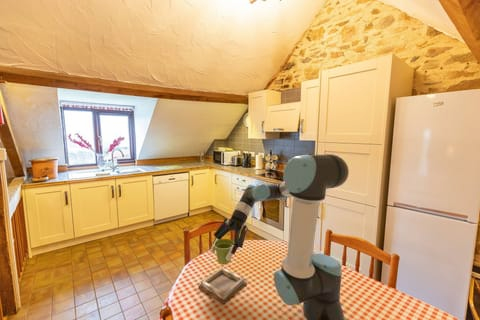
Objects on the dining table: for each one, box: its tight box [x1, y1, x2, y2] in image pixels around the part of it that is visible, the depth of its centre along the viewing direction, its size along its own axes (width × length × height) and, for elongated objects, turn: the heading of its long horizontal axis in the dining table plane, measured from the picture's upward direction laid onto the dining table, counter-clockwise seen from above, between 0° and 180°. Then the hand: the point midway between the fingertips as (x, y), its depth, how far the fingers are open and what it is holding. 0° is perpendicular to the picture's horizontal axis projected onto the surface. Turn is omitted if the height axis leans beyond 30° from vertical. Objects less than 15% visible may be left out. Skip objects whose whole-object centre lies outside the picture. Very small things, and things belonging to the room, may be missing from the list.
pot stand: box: [198, 266, 248, 304], centre depth 105 cm, size 16×16×3 cm
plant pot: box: [214, 238, 234, 265], centre depth 105 cm, size 9×9×9 cm
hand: (219, 256), depth 102 cm, fingers closed on plant pot, 9 cm apart
